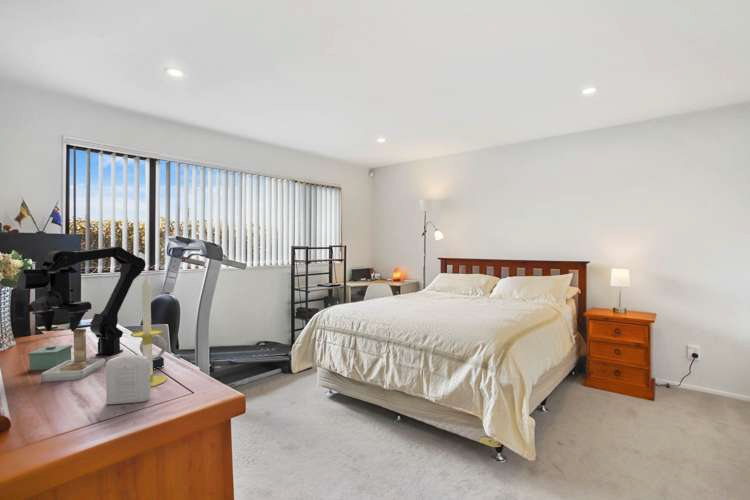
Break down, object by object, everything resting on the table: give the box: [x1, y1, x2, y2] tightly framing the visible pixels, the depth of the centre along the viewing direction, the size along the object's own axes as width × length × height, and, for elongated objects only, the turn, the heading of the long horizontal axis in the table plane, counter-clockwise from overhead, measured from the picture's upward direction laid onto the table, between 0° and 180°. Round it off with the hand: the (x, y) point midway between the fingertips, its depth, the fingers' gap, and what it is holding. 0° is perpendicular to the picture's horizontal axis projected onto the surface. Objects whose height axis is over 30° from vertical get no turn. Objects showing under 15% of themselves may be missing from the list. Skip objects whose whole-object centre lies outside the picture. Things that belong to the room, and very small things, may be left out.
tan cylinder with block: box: [60, 328, 87, 372], centre depth 123 cm, size 8×5×13 cm, turn 11°
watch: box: [139, 334, 168, 370], centre depth 127 cm, size 6×8×11 cm
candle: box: [130, 277, 168, 388], centre depth 113 cm, size 10×10×32 cm
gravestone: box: [105, 354, 151, 405], centre depth 100 cm, size 10×4×12 cm, turn 103°
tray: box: [40, 357, 105, 383], centre depth 122 cm, size 13×11×2 cm
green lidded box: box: [27, 344, 73, 371], centre depth 130 cm, size 9×9×7 cm
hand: (60, 331), depth 130 cm, fingers open, 9 cm apart
